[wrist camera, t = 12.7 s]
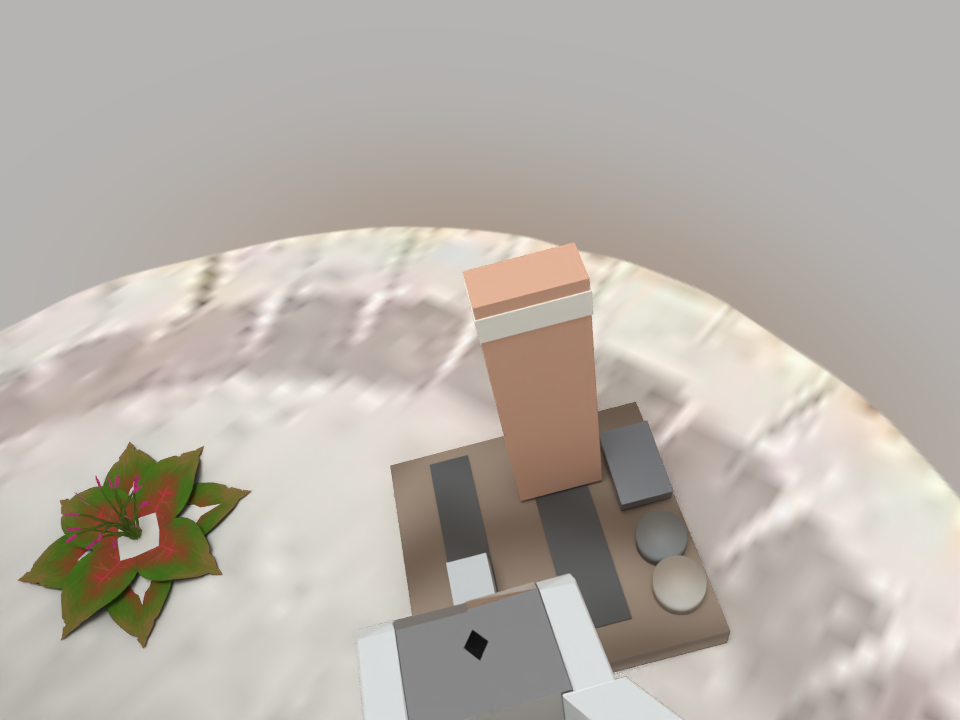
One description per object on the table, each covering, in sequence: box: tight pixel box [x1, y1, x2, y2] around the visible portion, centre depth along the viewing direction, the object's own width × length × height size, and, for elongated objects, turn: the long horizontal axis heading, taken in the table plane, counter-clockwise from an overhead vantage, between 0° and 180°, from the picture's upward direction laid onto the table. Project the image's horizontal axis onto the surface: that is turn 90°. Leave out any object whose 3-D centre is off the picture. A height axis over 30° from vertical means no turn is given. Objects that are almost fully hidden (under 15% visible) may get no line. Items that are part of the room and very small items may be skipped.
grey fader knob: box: [446, 553, 497, 606], centre depth 33 cm, size 2×2×2 cm
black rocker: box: [599, 421, 673, 510], centre depth 35 cm, size 4×2×1 cm, turn 12°
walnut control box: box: [390, 402, 730, 672], centre depth 35 cm, size 12×13×3 cm
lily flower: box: [18, 442, 250, 648], centre depth 39 cm, size 12×12×5 cm
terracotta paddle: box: [463, 243, 602, 501], centre depth 31 cm, size 2×4×14 cm, turn 102°
